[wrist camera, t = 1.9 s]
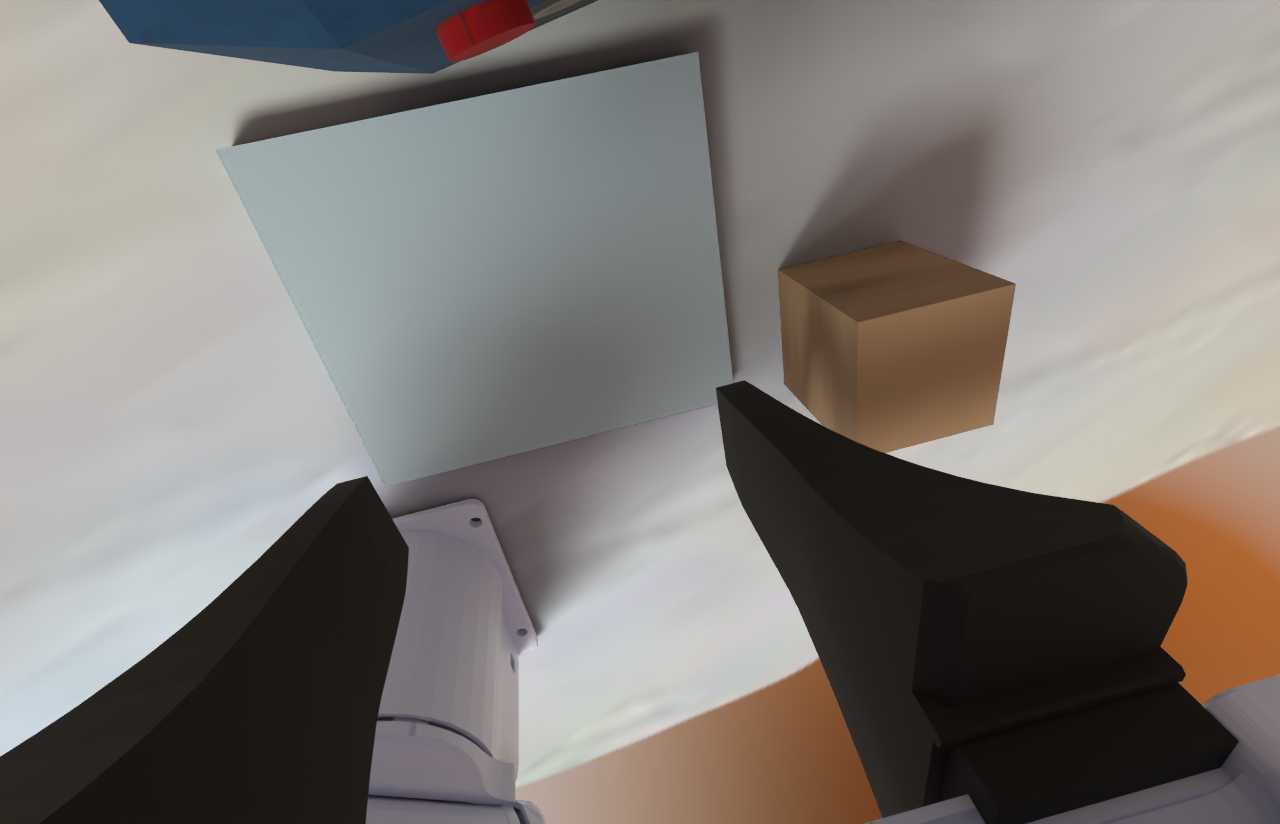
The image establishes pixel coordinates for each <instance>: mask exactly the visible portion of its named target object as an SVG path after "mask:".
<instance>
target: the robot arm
mask: <svg viewBox="0 0 1280 824" xmlns="http://www.w3.org/2000/svg"><path fill="white" fill-rule="evenodd" d="M716 394H717V401H718V408H719V415H720V422H721V430H722V437H723V444H724V451H725V458H726V465H727V468H728V471H729V473H730V476H731V478H732V481H733V484H734V486H735V489H736V491H737V494H738V496H739V499H740V501H741V503H742V506H743V508H744V509H745V511H746V513H747V515H748V517H749V519H750V520H751V522H752V524H753V526H754V528H755V530H756V531H757V533H758V535H759V537H760V539H761V540H762V542H763V544H764V546H765V548H766V549H767V551H768V553H769V555H770V557H771V558H772V560H773V562H774V564H775V566H776V567H777V569H778V571H779V573H780V574H781V576H782V578H783V580H784V582H785V583H786V585H787V587H788V589H789V591H790V593H791V595H792V597H793V599H794V601H795V603H796V605H797V607H798V609H799V611H800V613H801V616H802V618H803V620H804V623H805V625H806V627H807V630H808V632H809V634H810V637H811V639H812V641H813V644H814V646H815V648H816V651H817V653H818V655H819V658H820V660H821V663H822V665H823V667H824V670H825V672H826V675H827V677H828V679H829V682H830V684H831V687H832V689H833V691H834V694H835V697H836V699H837V701H838V704H839V706H840V709H841V711H842V714H843V717H844V719H845V721H846V724H847V727H848V729H849V732H850V734H851V737H852V739H853V741H854V744H855V747H856V749H857V752H858V754H859V757H860V759H861V762H862V765H863V767H864V770H865V773H866V775H867V778H868V780H869V783H870V786H871V788H872V791H873V794H874V796H875V799H876V802H877V804H878V807H879V809H880V812H881V815H882V817H883V818H882V819H878V820H875V821H871V822H868V823H864V824H1280V675H1276V676H1273V677H1269V678H1265V679H1262V680H1259V681H1255V682H1251V683H1248V684H1244V685H1241V686H1237V687H1233V688H1231V689H1228V690H1226V691H1223V692H1221V693H1219V694H1217V695H1215V696H1213V697H1212V698H1210V699H1209V700H1207V701H1206V702H1205V703H1204V704H1203V705H1201V704H1200V703H1199V702H1198V701H1197V700H1196V699H1195V698H1194V697H1193V696H1192V695H1190V694H1189V693H1188V692H1187V691H1186V690H1185V689H1184V688H1183V687H1182V686H1181V685H1180V684H1179V683H1178V682H1180V681H1183V679H1184V677H1185V675H1186V674H1185V672H1184V670H1183V668H1182V666H1181V665H1179V664H1178V663H1177V662H1176V661H1175V660H1174V659H1173V658H1172V657H1171V656H1170V655H1169V654H1168V653H1167V652H1166V651H1164V650H1163V649H1162V648H1161V647H1160V646H1161V644H1162V642H1163V640H1164V638H1165V636H1166V634H1167V631H1168V629H1169V627H1170V625H1171V623H1172V621H1173V619H1174V617H1175V615H1176V613H1177V611H1178V609H1179V607H1180V605H1181V603H1182V600H1183V597H1184V594H1185V591H1186V587H1187V573H1186V565H1185V562H1184V561H1183V560H1182V559H1181V558H1180V556H1179V555H1178V554H1177V553H1176V552H1175V551H1174V550H1173V549H1171V548H1170V547H1169V546H1168V545H1166V544H1165V543H1164V542H1162V541H1161V540H1160V539H1158V538H1157V537H1156V536H1154V535H1153V534H1152V533H1150V532H1149V531H1148V530H1146V529H1145V528H1144V527H1142V526H1141V525H1139V523H1137V522H1136V521H1135V520H1133V519H1132V518H1131V517H1129V516H1128V515H1127V514H1125V513H1124V512H1123V511H1121V510H1120V509H1118V508H1117V507H1115V506H1114V505H1109V504H1103V503H1096V502H1089V501H1082V500H1076V499H1069V498H1062V497H1055V496H1048V495H1042V494H1035V493H1030V492H1025V491H1020V490H1015V489H1010V488H1005V487H1001V486H996V485H991V484H986V483H982V482H978V481H974V480H970V479H966V478H962V477H958V476H954V475H951V474H947V473H944V472H940V471H937V470H933V469H930V468H926V467H923V466H920V465H917V464H914V463H911V462H908V461H905V460H902V459H899V458H896V457H894V456H891V455H888V454H886V453H883V452H880V451H878V450H875V449H872V448H870V447H867V446H865V445H863V444H860V443H858V442H856V441H853V440H851V439H849V438H847V437H845V436H843V435H841V434H839V433H836V432H834V431H832V430H830V429H828V428H826V427H824V426H822V425H820V424H818V423H816V422H814V421H813V420H811V419H809V418H807V417H805V416H803V415H802V414H800V413H798V412H796V411H795V410H793V409H791V408H789V407H788V406H786V405H784V404H783V403H781V402H779V401H778V400H776V399H774V398H773V397H771V396H769V395H768V394H766V393H764V392H763V391H761V390H760V389H758V388H756V387H755V386H753V385H751V384H750V383H748V382H746V381H745V380H744V381H740V382H736V383H732V384H728V385H724V386H720V387H717V388H716ZM472 518H479V519H481V520H480V521H477V522H475V521H472V520H471V519H472ZM519 629H524V630H519ZM537 646H538V638H537V635H536V633H535V630H534V628H533V625H532V623H531V620H530V618H529V615H528V613H527V610H526V608H525V605H524V603H523V600H522V598H521V595H520V593H519V590H518V588H517V585H516V583H515V580H514V578H513V575H512V573H511V571H510V568H509V566H508V563H507V561H506V558H505V556H504V553H503V551H502V548H501V546H500V543H499V541H498V538H497V536H496V533H495V531H494V528H493V526H492V523H491V521H490V518H489V516H488V513H487V511H486V508H485V506H484V504H483V503H482V502H481V501H479V500H477V499H467V500H463V501H459V502H455V503H452V504H448V505H444V506H440V507H436V508H432V509H428V510H424V511H420V512H416V513H412V514H408V515H405V516H401V517H397V518H393V519H392V518H391V516H390V514H389V513H388V511H387V509H386V508H385V506H384V504H383V502H382V501H381V499H380V497H379V496H378V494H377V492H376V490H375V489H374V487H373V485H372V484H371V482H370V480H369V478H368V477H367V476H366V477H362V478H358V479H354V480H350V481H346V482H342V483H338V484H336V485H335V486H334V487H333V488H331V489H330V490H329V491H328V492H327V493H326V494H324V495H323V496H322V497H321V498H320V499H319V500H318V501H317V502H316V503H315V504H314V505H313V506H312V507H311V508H310V509H308V510H307V511H306V512H305V513H304V514H303V515H302V516H301V517H300V518H299V519H298V520H297V521H296V522H295V523H294V524H293V525H292V526H291V527H290V528H289V529H288V530H287V531H286V532H285V533H284V534H283V535H282V536H281V537H280V538H279V539H278V540H277V541H276V542H275V543H274V544H273V545H272V546H271V547H270V548H269V549H268V550H267V551H266V552H265V553H264V554H263V555H262V556H261V557H260V558H259V559H258V560H257V561H256V562H255V563H254V564H252V565H251V566H250V567H249V568H248V569H247V570H246V571H245V572H244V573H243V574H242V575H241V576H240V577H238V578H237V579H236V580H235V581H234V582H233V583H232V584H231V585H230V586H229V587H228V588H227V589H226V590H224V591H223V592H222V593H221V594H220V595H219V596H218V597H217V598H216V599H215V600H214V601H213V602H211V603H210V604H209V605H208V606H207V607H206V608H205V609H203V610H202V611H201V612H200V613H199V614H198V615H197V616H195V617H194V618H193V619H192V620H191V621H189V622H188V623H187V624H186V625H185V626H183V627H182V628H181V629H180V630H179V631H177V632H176V633H175V634H174V635H172V636H171V637H170V638H169V639H167V640H166V641H165V642H164V643H162V644H161V645H160V646H159V647H157V648H156V649H155V650H154V651H152V652H151V653H150V654H148V655H147V656H146V657H145V658H143V659H142V660H141V661H139V662H138V663H137V664H135V665H134V666H132V667H131V668H130V669H128V670H127V671H126V672H124V673H123V674H121V675H120V676H119V677H117V678H116V679H114V680H113V681H112V682H110V683H109V684H108V685H106V686H105V687H103V688H102V689H101V690H99V691H98V692H96V693H95V694H94V695H92V696H91V697H90V698H88V699H87V700H85V701H84V702H83V703H81V704H80V705H79V706H77V707H76V708H74V709H73V710H71V711H70V712H68V713H67V714H65V715H64V716H62V717H61V718H59V719H58V720H56V721H55V722H53V723H52V724H50V725H49V726H47V727H46V728H44V729H43V730H41V731H40V732H38V733H37V734H35V735H34V736H32V737H31V738H29V739H27V740H26V741H24V742H23V743H21V744H20V745H18V746H16V747H15V748H13V749H12V750H10V751H9V752H7V753H5V754H4V755H2V756H1V757H0V824H546V822H545V819H544V817H543V815H542V813H541V812H540V810H539V808H538V807H537V806H536V805H535V804H533V803H532V802H530V801H522V800H515V782H516V778H517V773H518V764H519V683H518V655H521V654H524V653H528V652H531V651H533V650H535V649H536V648H537Z"/></svg>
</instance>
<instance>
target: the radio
mask: <svg viewBox="0 0 1280 824" xmlns="http://www.w3.org/2000/svg"><path fill="white" fill-rule="evenodd" d="M99 1H100V2H101V4H102V5H103V7H104V8H105V9H106V11H107V12H108V14H109V15H110V16H111V18H112V19H113V21H114V22H115V23H116V25H117V26H118V28H119V29H120V30H121V32H122V33H123V35H124V36H125V37H126V39H127V40H128V42H129V43H134V44H142V45H149V46H156V47H163V48H170V49H178V50H185V51H192V52H199V53H207V54H214V55H221V56H228V57H236V58H243V59H250V60H257V61H264V62H272V63H279V64H286V65H293V66H301V67H308V68H315V69H322V70H330V71H344V72H388V73H435V72H437V71H439V70H441V69H444V68H446V67H448V66H451V65H453V64H455V63H457V62H460V61H462V60H466V59H469V58H472V57H474V56H477V55H480V54H482V53H485V52H487V51H490V50H492V49H494V48H496V47H499V46H501V45H503V44H505V43H507V42H509V41H511V40H513V39H515V38H517V37H519V36H521V35H522V34H524V33H526V32H527V31H530V30H532V29H534V28H536V27H539V26H541V25H543V24H545V23H548V22H550V21H552V20H554V19H557V18H559V17H561V16H564V15H566V14H568V13H570V12H573V11H575V10H577V9H579V8H582V7H584V6H586V5H588V4H591V3H593V2H595V1H597V0H99Z"/></svg>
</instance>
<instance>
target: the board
mask: <svg viewBox="0 0 1280 824" xmlns="http://www.w3.org/2000/svg"><path fill="white" fill-rule="evenodd" d="M216 152H217V154H218V155H219V157H220V159H221V161H222V163H223V165H224V167H225V169H226V171H227V173H228V175H229V177H230V179H231V181H232V183H233V185H234V187H235V189H236V191H237V193H238V195H239V197H240V199H241V201H242V203H243V205H244V207H245V209H246V211H247V213H248V215H249V217H250V219H251V221H252V223H253V225H254V227H255V229H256V231H257V233H258V235H259V237H260V239H261V241H262V243H263V245H264V247H265V249H266V251H267V253H268V255H269V257H270V259H271V261H272V263H273V265H274V267H275V269H276V271H277V273H278V274H279V276H280V278H281V280H282V282H283V284H284V286H285V288H286V290H287V292H288V294H289V296H290V298H291V300H292V302H293V304H294V306H295V308H296V310H297V312H298V314H299V316H300V318H301V320H302V322H303V324H304V326H305V328H306V330H307V332H308V334H309V336H310V338H311V340H312V342H313V344H314V346H315V348H316V350H317V352H318V354H319V356H320V358H321V360H322V362H323V364H324V366H325V368H326V370H327V372H328V374H329V376H330V378H331V380H332V382H333V384H334V386H335V388H336V390H337V391H338V393H339V395H340V397H341V399H342V401H343V403H344V405H345V407H346V409H347V411H348V413H349V415H350V417H351V419H352V421H353V423H354V425H355V427H356V429H357V431H358V433H359V435H360V437H361V439H362V441H363V443H364V445H365V447H366V449H367V451H368V453H369V455H370V457H371V459H372V461H373V463H374V465H375V467H376V469H377V471H378V473H379V475H380V477H381V479H382V481H383V483H384V485H385V487H388V486H392V485H396V484H400V483H404V482H408V481H412V480H416V479H420V478H424V477H428V476H432V475H436V474H440V473H444V472H448V471H452V470H456V469H460V468H464V467H468V466H472V465H476V464H480V463H484V462H488V461H492V460H496V459H500V458H504V457H507V456H511V455H515V454H519V453H523V452H527V451H531V450H535V449H539V448H543V447H547V446H551V445H555V444H559V443H563V442H567V441H571V440H575V439H579V438H583V437H587V436H591V435H595V434H599V433H603V432H607V431H611V430H615V429H619V428H623V427H627V426H631V425H635V424H639V423H643V422H647V421H651V420H655V419H659V418H663V417H667V416H671V415H675V414H679V413H683V412H687V411H691V410H695V409H699V408H703V407H707V406H711V405H715V404H718V401H717V394H716V388H717V387H720V386H724V385H728V384H732V383H733V375H732V366H731V357H730V347H729V338H728V328H727V319H726V309H725V300H724V290H723V281H722V271H721V262H720V253H719V243H718V234H717V224H716V215H715V205H714V196H713V186H712V177H711V167H710V158H709V149H708V139H707V130H706V120H705V111H704V101H703V92H702V82H701V73H700V64H699V54H698V52H694V53H689V54H684V55H679V56H674V57H669V58H664V59H659V60H654V61H650V62H645V63H640V64H635V65H630V66H625V67H620V68H615V69H610V70H605V71H600V72H595V73H591V74H586V75H581V76H576V77H571V78H566V79H561V80H556V81H551V82H546V83H541V84H536V85H532V86H527V87H522V88H517V89H512V90H507V91H502V92H497V93H492V94H487V95H482V96H477V97H473V98H468V99H463V100H458V101H453V102H448V103H443V104H438V105H433V106H428V107H423V108H418V109H414V110H409V111H404V112H399V113H394V114H389V115H384V116H379V117H374V118H369V119H364V120H359V121H355V122H350V123H345V124H340V125H335V126H330V127H325V128H320V129H315V130H310V131H305V132H300V133H296V134H291V135H286V136H281V137H276V138H271V139H266V140H261V141H256V142H251V143H246V144H241V145H237V146H232V147H227V148H222V149H217V150H216Z"/></svg>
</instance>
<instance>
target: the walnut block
mask: <svg viewBox="0 0 1280 824" xmlns="http://www.w3.org/2000/svg"><path fill="white" fill-rule="evenodd" d="M778 278H779V296H780V314H781V332H782V350H783V368H784V384H785V385H786V386H787V388H788V389H789V390H790V391H791V392H792V393H793V394H794V395H795V396H796V397H797V398H798V399H799V400H800V402H801V403H802V404H803V405H804V406H805V407H806V408H807V409H808V410H809V411H810V412H811V413H812V414H813V415H814V417H815V418H816V419H817V420H818V421H819V422H820V423H821V424H822V425H823V426H824V427H826V428H828V429H830V430H832V431H834V432H836V433H839V434H841V435H843V436H845V437H847V438H849V439H851V440H853V441H856V442H858V443H860V444H863V445H865V446H867V447H870V448H872V449H875V450H878V451H880V452H883V453H887V452H890V451H894V450H898V449H902V448H906V447H909V446H913V445H917V444H921V443H925V442H928V441H932V440H936V439H940V438H943V437H947V436H951V435H955V434H959V433H962V432H966V431H970V430H974V429H977V428H981V427H985V426H989V425H993V422H994V416H995V410H996V404H997V397H998V391H999V385H1000V379H1001V372H1002V366H1003V360H1004V354H1005V348H1006V341H1007V335H1008V329H1009V323H1010V316H1011V310H1012V304H1013V298H1014V291H1015V285H1016V284H1015V283H1012V282H1009V281H1007V280H1004V279H1001V278H999V277H996V276H993V275H991V274H988V273H985V272H983V271H980V270H977V269H975V268H972V267H969V266H967V265H964V264H961V263H959V262H956V261H954V260H951V259H948V258H946V257H943V256H940V255H938V254H935V253H932V252H930V251H927V250H924V249H922V248H919V247H916V246H914V245H911V244H908V243H906V242H903V241H897V242H893V243H889V244H884V245H880V246H876V247H872V248H868V249H863V250H859V251H855V252H851V253H846V254H842V255H838V256H834V257H829V258H825V259H821V260H817V261H812V262H808V263H804V264H800V265H795V266H791V267H787V268H783V269H778Z"/></svg>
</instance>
